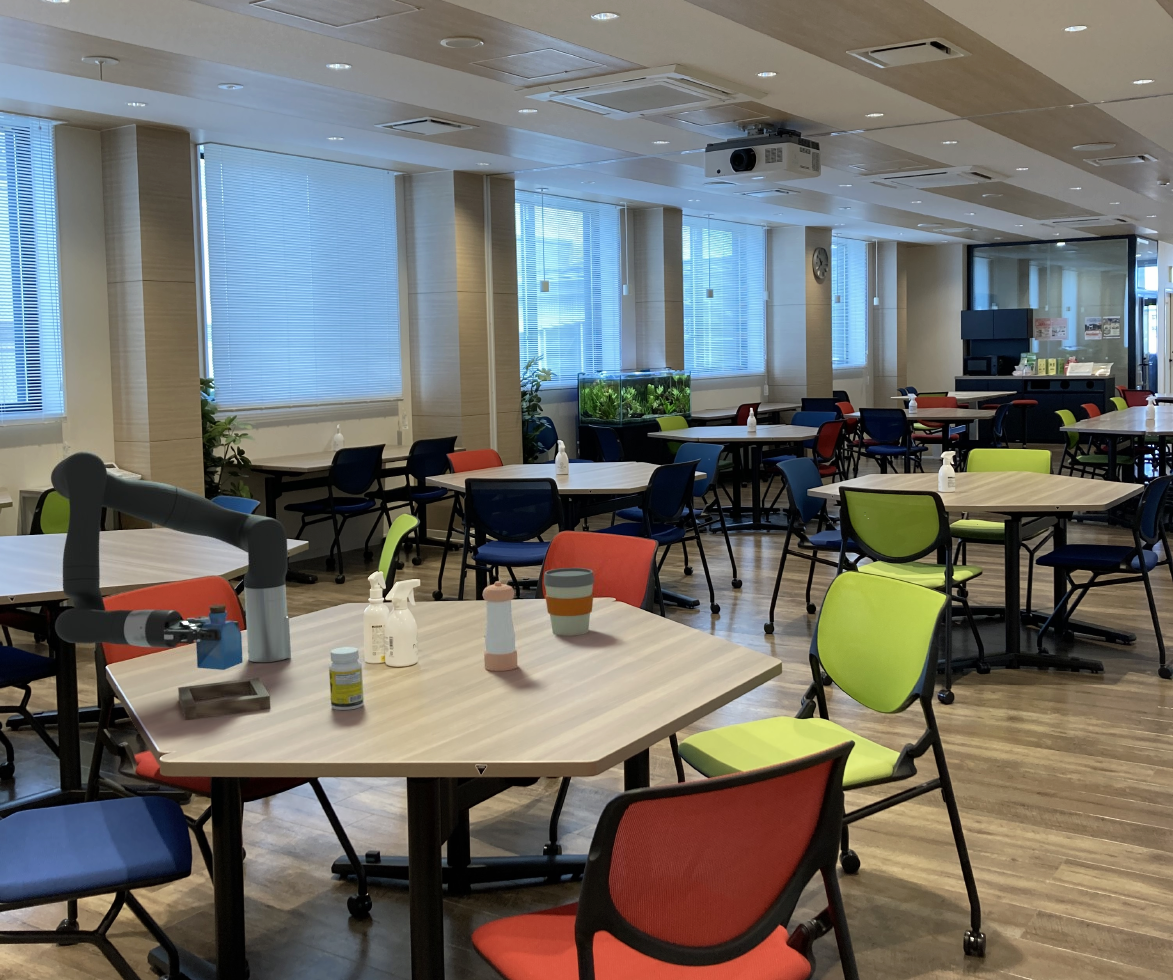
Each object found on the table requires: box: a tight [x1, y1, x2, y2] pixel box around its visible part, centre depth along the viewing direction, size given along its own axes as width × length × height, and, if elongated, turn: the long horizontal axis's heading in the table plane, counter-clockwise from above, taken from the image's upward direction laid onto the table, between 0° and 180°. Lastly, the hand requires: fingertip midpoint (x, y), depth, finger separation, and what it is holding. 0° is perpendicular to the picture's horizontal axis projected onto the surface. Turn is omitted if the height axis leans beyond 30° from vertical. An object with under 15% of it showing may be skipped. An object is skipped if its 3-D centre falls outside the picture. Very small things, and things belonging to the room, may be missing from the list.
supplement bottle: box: [328, 646, 364, 711], centre depth 232 cm, size 6×6×11 cm
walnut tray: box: [177, 677, 271, 721], centre depth 237 cm, size 16×16×2 cm
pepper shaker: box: [482, 580, 519, 672], centre depth 259 cm, size 7×7×19 cm
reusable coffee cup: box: [543, 567, 595, 636], centre depth 292 cm, size 13×13×15 cm
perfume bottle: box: [195, 604, 244, 671], centre depth 235 cm, size 6×6×12 cm
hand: (228, 630), depth 235 cm, fingers closed on perfume bottle, 6 cm apart
